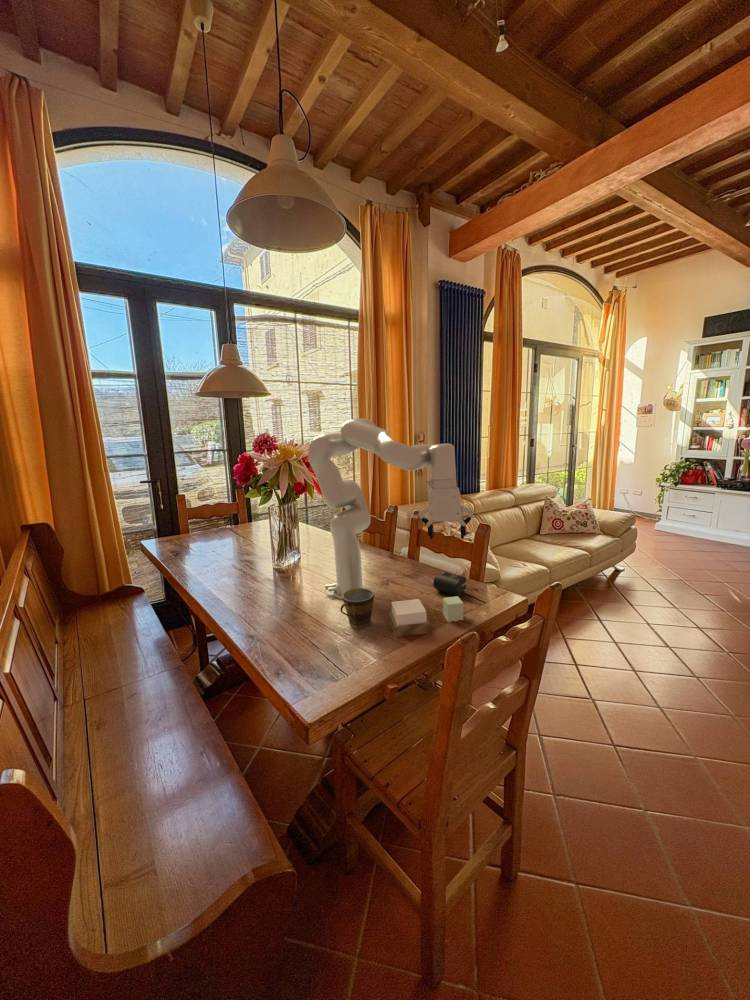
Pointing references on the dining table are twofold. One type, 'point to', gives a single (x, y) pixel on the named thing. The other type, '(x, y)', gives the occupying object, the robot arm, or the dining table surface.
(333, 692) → the dining table surface
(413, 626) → the walnut slab
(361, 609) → the ceramic cup
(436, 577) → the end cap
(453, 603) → the green block
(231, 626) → the dining table surface
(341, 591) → the robot arm
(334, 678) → the dining table surface
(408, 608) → the white slab
